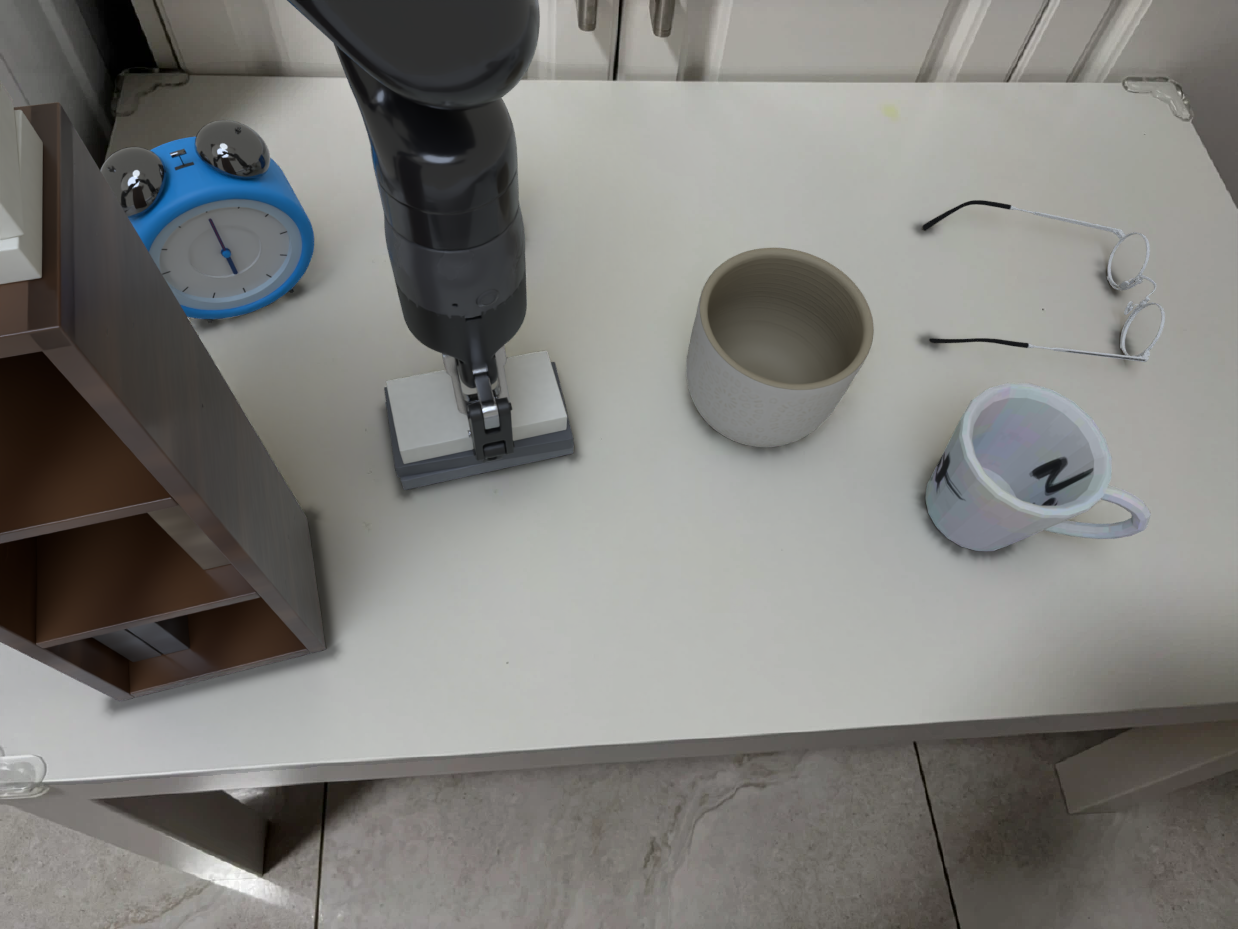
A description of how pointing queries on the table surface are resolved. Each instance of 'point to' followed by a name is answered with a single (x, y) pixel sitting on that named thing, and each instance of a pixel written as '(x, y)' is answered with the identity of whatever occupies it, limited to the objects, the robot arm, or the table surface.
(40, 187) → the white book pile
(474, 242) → the robot arm
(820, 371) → the planter
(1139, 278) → the eyeglasses
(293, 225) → the alarm clock
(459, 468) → the grey book pile
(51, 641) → the bookcase
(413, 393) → the white flat block
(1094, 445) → the mug
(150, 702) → the table surface
